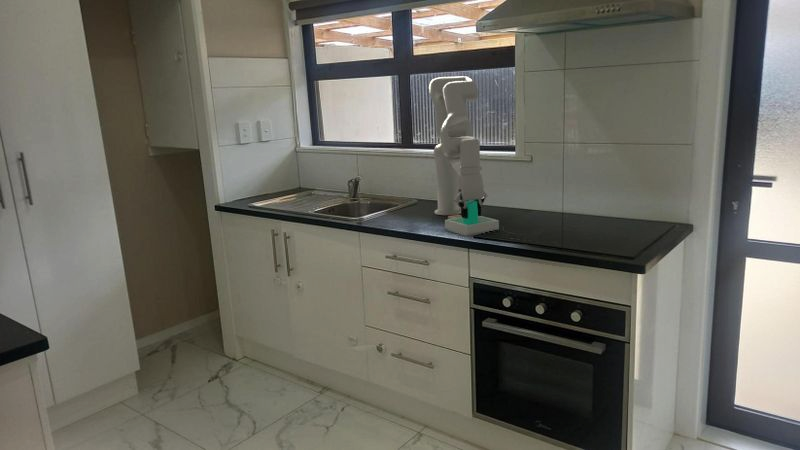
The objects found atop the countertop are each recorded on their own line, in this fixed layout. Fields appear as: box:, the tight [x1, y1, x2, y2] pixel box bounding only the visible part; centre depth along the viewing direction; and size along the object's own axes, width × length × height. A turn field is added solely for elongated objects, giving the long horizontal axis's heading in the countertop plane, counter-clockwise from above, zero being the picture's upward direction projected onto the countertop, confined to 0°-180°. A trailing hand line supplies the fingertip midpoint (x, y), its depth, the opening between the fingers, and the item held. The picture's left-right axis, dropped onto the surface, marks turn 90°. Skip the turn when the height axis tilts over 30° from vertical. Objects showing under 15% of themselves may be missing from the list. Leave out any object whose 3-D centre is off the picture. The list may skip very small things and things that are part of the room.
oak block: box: [447, 214, 462, 220], centre depth 239 cm, size 5×5×4 cm
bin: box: [444, 215, 500, 237], centre depth 229 cm, size 15×15×4 cm
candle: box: [463, 200, 479, 225], centre depth 228 cm, size 6×6×12 cm
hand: (471, 216), depth 229 cm, fingers open, 5 cm apart
